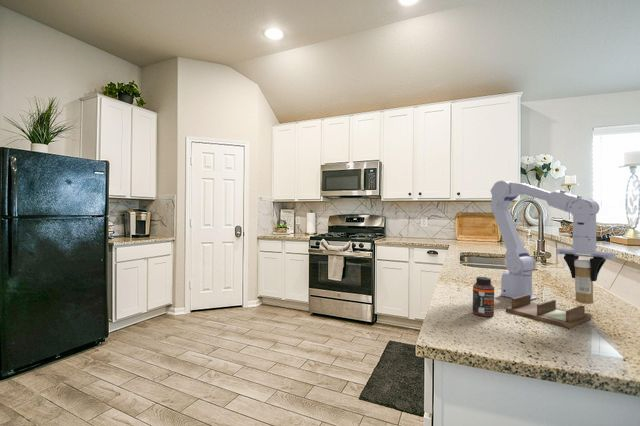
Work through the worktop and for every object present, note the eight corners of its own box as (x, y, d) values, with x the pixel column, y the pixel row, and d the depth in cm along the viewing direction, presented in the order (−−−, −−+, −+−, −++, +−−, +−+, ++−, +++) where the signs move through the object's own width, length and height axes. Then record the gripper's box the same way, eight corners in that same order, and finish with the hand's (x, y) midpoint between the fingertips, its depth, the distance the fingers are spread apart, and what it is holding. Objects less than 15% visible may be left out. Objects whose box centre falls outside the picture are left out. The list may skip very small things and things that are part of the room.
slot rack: (505, 311, 99) (505, 298, 99) (528, 304, 106) (528, 292, 106) (569, 328, 85) (569, 313, 85) (590, 319, 92) (590, 305, 92)
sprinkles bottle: (595, 302, 98) (595, 260, 98) (590, 305, 96) (589, 262, 95) (578, 298, 102) (577, 258, 102) (572, 301, 100) (571, 260, 99)
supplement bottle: (486, 318, 92) (486, 280, 92) (468, 312, 98) (468, 277, 98) (498, 315, 95) (498, 278, 95) (480, 310, 100) (480, 275, 100)
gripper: (619, 237, 95) (619, 282, 95) (563, 234, 107) (562, 273, 107) (610, 238, 91) (610, 285, 91) (553, 235, 103) (553, 276, 103)
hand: (584, 279), depth 99 cm, fingers closed on sprinkles bottle, 4 cm apart
